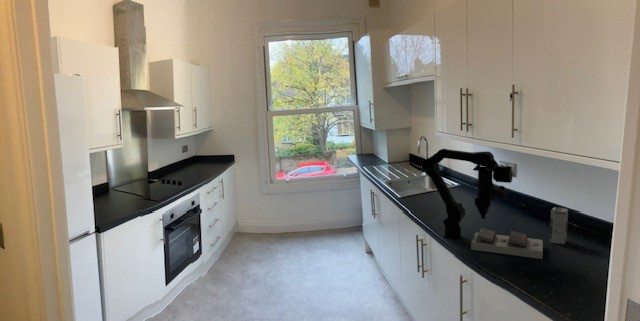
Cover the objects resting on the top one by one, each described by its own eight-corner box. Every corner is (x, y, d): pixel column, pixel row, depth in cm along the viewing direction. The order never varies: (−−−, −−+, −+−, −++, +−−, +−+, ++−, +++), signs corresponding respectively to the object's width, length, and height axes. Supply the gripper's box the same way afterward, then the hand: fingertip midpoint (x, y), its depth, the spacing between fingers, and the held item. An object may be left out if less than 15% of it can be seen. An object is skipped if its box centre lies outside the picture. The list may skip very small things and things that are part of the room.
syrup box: (551, 238, 166) (552, 206, 164) (567, 240, 163) (568, 208, 161) (549, 242, 162) (550, 209, 160) (565, 245, 158) (566, 211, 156)
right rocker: (508, 241, 152) (509, 238, 152) (510, 233, 162) (510, 230, 161) (525, 246, 150) (525, 243, 149) (525, 237, 159) (526, 234, 159)
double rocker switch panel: (461, 248, 161) (461, 240, 160) (466, 237, 173) (466, 230, 172) (542, 259, 146) (542, 250, 145) (542, 246, 158) (542, 239, 157)
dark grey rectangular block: (476, 237, 158) (477, 234, 158) (480, 229, 168) (481, 227, 167) (492, 242, 156) (492, 239, 155) (494, 234, 165) (495, 231, 165)
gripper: (504, 186, 150) (503, 224, 152) (507, 177, 166) (506, 212, 168) (474, 184, 156) (474, 221, 158) (480, 176, 172) (480, 209, 174)
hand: (484, 215), depth 164 cm, fingers open, 9 cm apart
